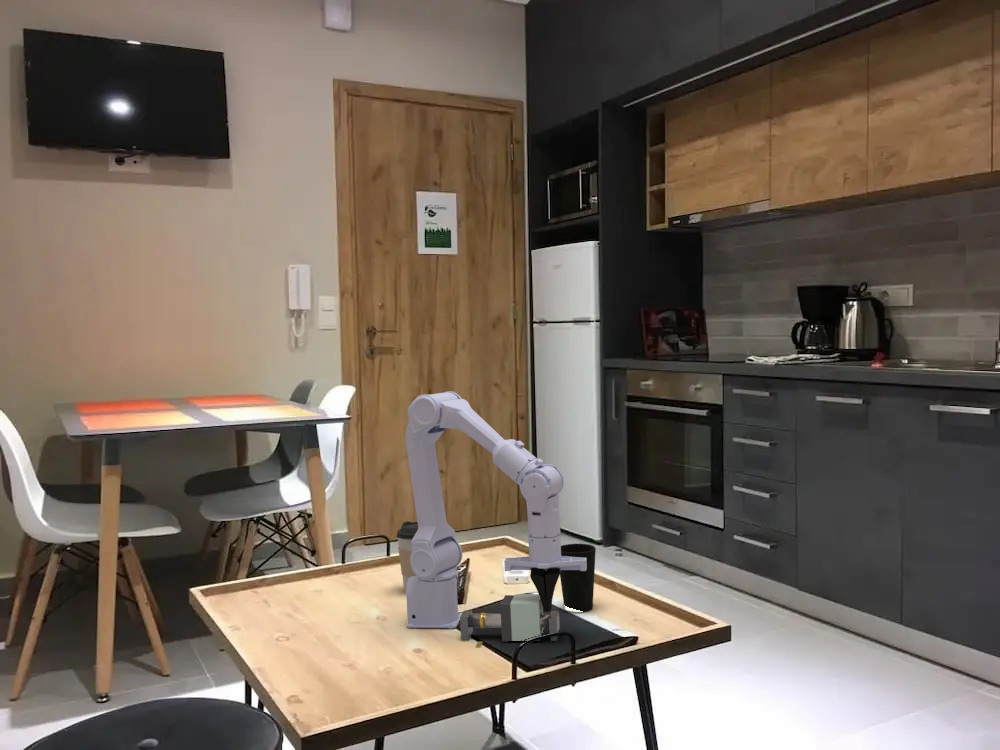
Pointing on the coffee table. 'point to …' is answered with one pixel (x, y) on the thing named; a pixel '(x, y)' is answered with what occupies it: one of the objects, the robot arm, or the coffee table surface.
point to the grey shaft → (499, 622)
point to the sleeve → (526, 616)
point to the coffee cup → (406, 549)
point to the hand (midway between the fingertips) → (547, 610)
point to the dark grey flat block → (506, 618)
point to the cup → (578, 578)
